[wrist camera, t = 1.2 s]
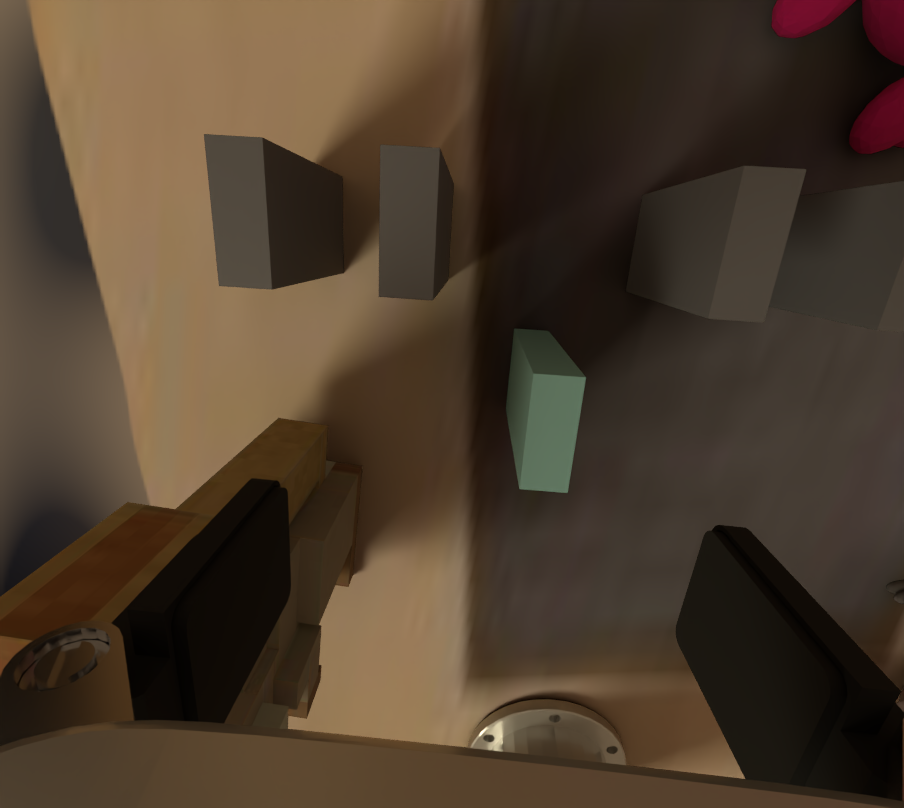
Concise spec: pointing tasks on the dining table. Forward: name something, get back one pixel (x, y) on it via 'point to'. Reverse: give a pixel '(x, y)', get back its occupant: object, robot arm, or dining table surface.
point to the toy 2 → (889, 30)
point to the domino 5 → (846, 258)
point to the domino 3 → (543, 410)
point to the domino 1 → (272, 214)
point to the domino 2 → (414, 222)
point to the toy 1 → (168, 530)
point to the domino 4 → (716, 242)
